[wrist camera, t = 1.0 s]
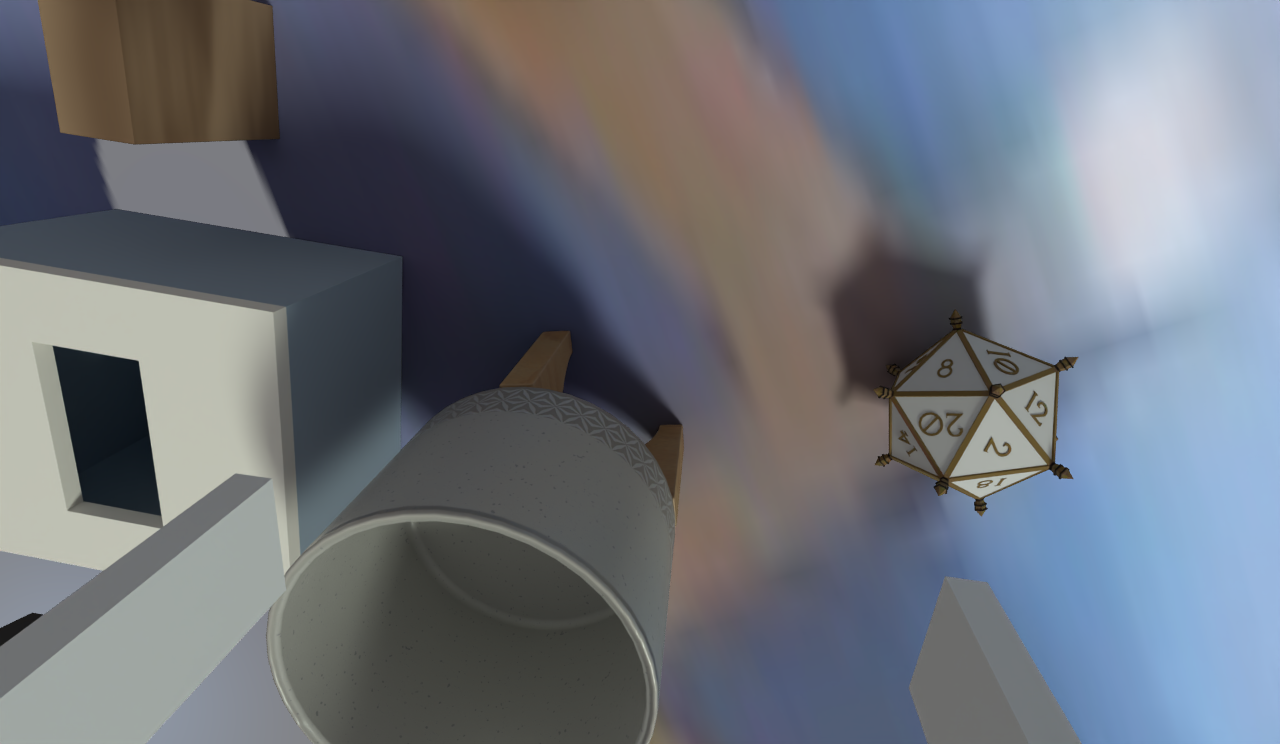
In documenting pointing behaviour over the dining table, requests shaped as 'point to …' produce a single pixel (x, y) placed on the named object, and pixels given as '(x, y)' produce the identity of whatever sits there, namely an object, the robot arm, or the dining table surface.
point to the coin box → (186, 378)
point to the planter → (491, 579)
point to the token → (162, 69)
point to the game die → (974, 415)
